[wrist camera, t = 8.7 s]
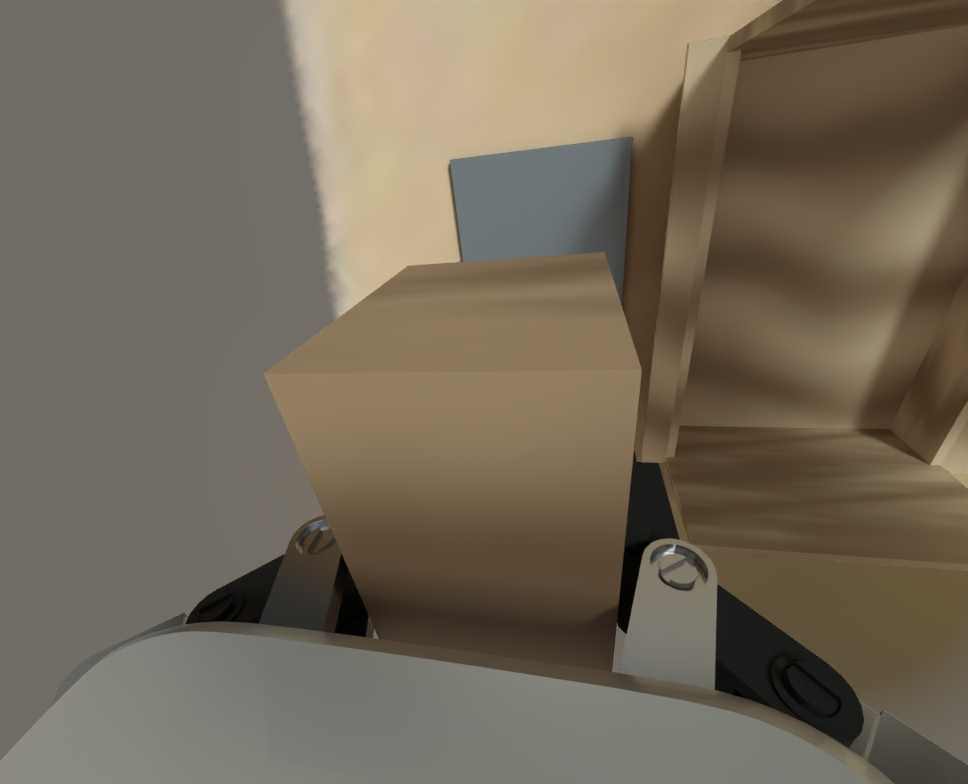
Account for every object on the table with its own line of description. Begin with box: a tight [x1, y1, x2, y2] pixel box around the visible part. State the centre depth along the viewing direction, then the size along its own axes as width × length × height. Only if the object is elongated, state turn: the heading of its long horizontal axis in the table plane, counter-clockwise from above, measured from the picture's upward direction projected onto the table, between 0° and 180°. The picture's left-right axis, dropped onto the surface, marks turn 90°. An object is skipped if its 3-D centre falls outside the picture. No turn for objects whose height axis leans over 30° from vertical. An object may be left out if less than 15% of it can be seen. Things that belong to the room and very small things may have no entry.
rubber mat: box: [450, 137, 633, 305], centre depth 26 cm, size 16×10×1 cm, turn 6°
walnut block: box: [264, 252, 642, 672], centre depth 10 cm, size 10×5×6 cm, turn 6°
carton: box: [641, 0, 968, 572], centre depth 19 cm, size 22×18×11 cm
